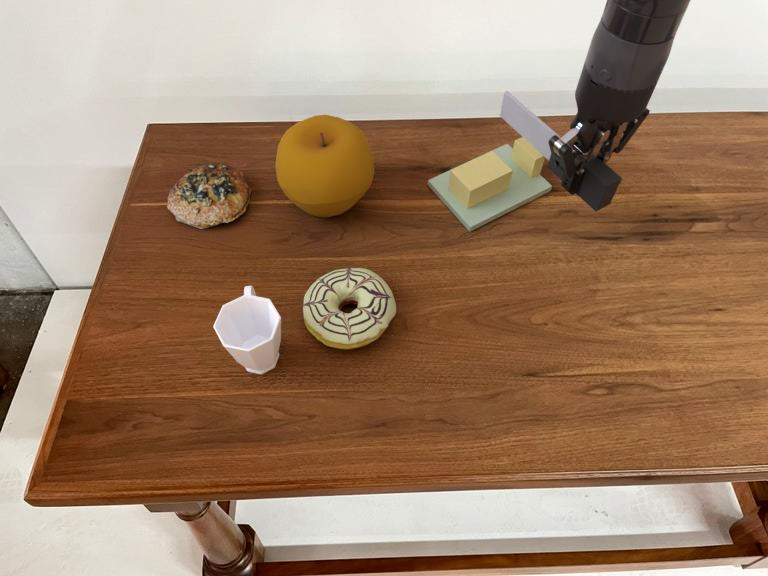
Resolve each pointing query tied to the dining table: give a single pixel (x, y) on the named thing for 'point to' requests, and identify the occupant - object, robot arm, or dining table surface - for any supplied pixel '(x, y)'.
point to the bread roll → (209, 196)
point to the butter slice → (527, 157)
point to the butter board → (498, 205)
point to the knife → (597, 176)
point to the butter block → (480, 179)
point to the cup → (250, 331)
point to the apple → (324, 165)
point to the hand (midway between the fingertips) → (578, 184)
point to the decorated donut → (346, 289)
